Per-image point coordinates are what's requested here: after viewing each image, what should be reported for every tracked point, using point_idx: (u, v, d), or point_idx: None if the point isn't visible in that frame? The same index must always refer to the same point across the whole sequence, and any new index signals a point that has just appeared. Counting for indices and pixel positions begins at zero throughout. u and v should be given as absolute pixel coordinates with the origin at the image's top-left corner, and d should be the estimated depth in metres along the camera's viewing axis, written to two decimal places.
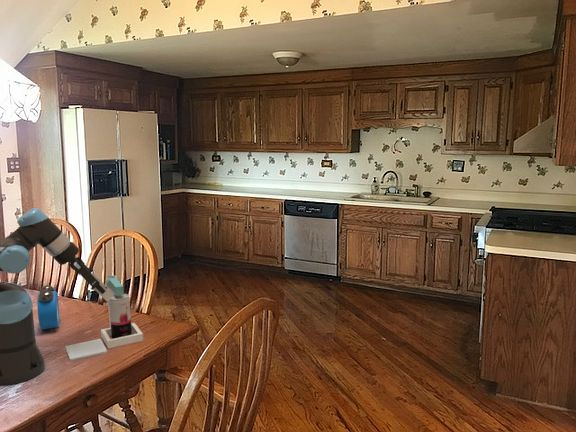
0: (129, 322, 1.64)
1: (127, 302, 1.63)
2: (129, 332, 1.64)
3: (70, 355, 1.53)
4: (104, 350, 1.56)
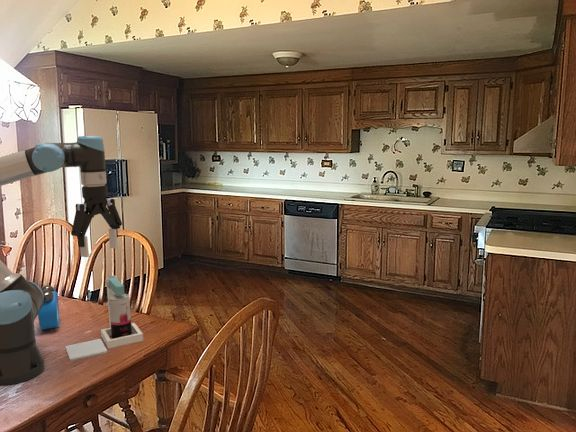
0: (129, 322, 1.64)
1: (127, 302, 1.63)
2: (129, 332, 1.64)
3: (70, 355, 1.53)
4: (104, 350, 1.56)
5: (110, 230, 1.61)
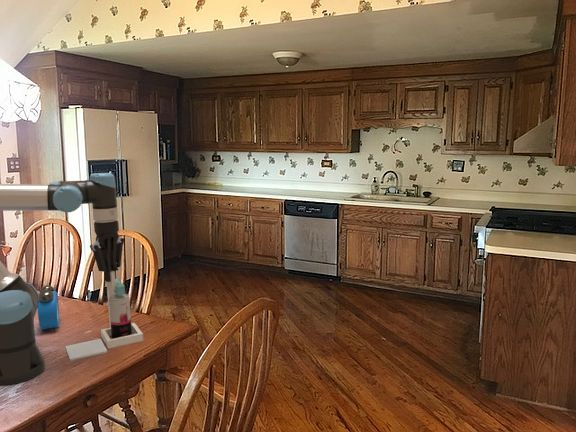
0: (129, 322, 1.64)
1: (127, 302, 1.63)
2: (129, 332, 1.64)
3: (70, 355, 1.53)
4: (104, 350, 1.56)
5: None
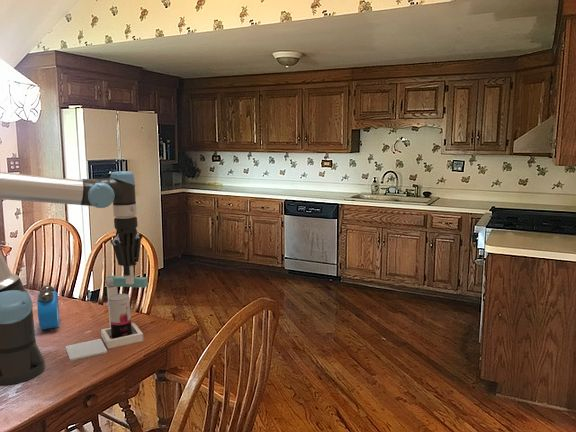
0: (129, 322, 1.64)
1: (127, 302, 1.63)
2: (129, 332, 1.64)
3: (70, 355, 1.53)
4: (104, 350, 1.56)
5: None
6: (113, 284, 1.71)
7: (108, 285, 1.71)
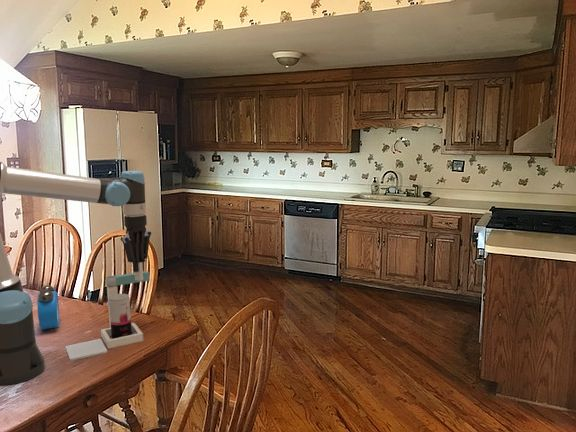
0: (129, 322, 1.64)
1: (127, 302, 1.63)
2: (129, 332, 1.64)
3: (70, 355, 1.53)
4: (104, 350, 1.56)
5: None
6: (116, 283, 1.72)
7: (111, 285, 1.71)
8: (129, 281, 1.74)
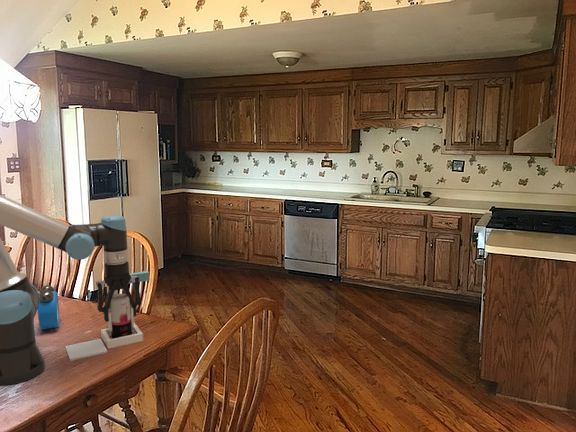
0: (129, 322, 1.64)
1: (127, 302, 1.63)
2: (129, 332, 1.64)
3: (70, 355, 1.53)
4: (104, 350, 1.56)
5: None
6: None
7: None
8: (129, 281, 1.74)
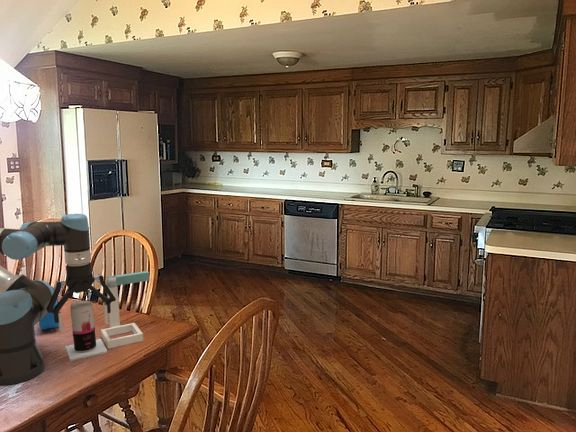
0: (93, 331, 1.56)
1: (90, 309, 1.54)
2: (92, 341, 1.56)
3: (70, 355, 1.53)
4: (104, 350, 1.56)
5: (103, 304, 1.59)
6: (116, 283, 1.72)
7: (111, 285, 1.71)
8: (129, 281, 1.74)
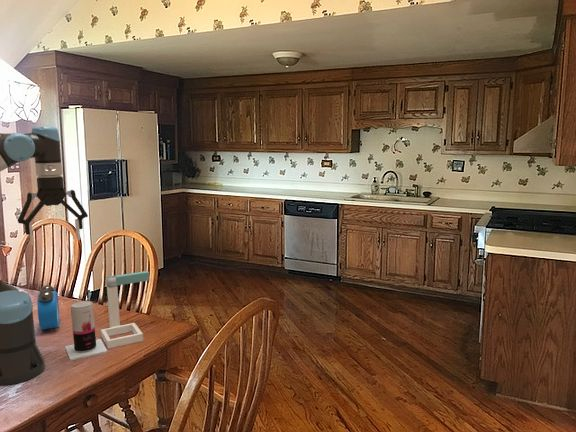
0: (93, 331, 1.56)
1: (90, 310, 1.54)
2: (93, 341, 1.56)
3: (70, 355, 1.53)
4: (104, 350, 1.56)
5: (75, 221, 1.60)
6: (116, 283, 1.72)
7: (111, 285, 1.71)
8: (129, 281, 1.74)
